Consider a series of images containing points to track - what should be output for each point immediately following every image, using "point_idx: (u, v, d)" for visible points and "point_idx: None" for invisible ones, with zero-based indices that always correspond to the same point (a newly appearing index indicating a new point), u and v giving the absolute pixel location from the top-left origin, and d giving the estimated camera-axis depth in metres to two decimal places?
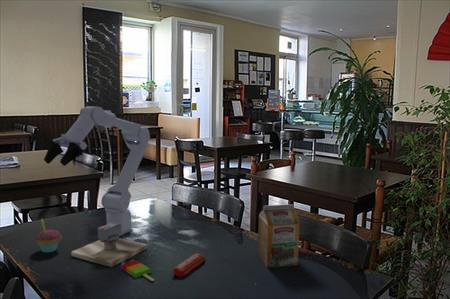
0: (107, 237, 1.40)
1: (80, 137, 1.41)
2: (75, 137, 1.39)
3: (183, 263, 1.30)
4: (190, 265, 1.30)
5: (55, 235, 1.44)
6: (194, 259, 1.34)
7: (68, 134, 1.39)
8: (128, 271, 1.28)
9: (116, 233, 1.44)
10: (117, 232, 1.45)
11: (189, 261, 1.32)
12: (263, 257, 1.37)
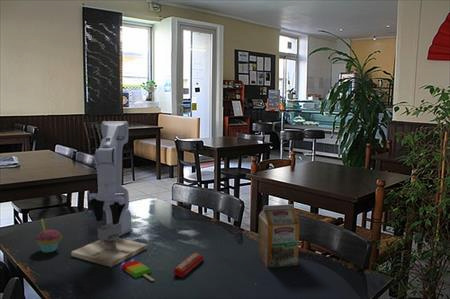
0: (107, 237, 1.40)
1: (112, 189, 1.40)
2: (109, 194, 1.39)
3: (183, 263, 1.30)
4: (190, 265, 1.30)
5: (55, 235, 1.44)
6: (194, 259, 1.34)
7: (101, 194, 1.39)
8: (128, 271, 1.28)
9: (116, 233, 1.44)
10: (117, 232, 1.45)
11: (189, 260, 1.32)
12: (263, 257, 1.37)
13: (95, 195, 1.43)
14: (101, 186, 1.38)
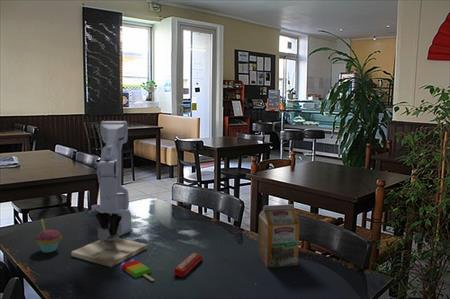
0: (107, 237, 1.40)
1: (115, 202, 1.41)
2: (111, 206, 1.40)
3: (183, 263, 1.30)
4: (190, 265, 1.30)
5: (55, 235, 1.44)
6: (193, 258, 1.34)
7: (103, 207, 1.39)
8: (128, 271, 1.28)
9: None
10: (117, 232, 1.45)
11: (188, 260, 1.32)
12: (263, 257, 1.37)
13: (97, 207, 1.44)
14: (103, 199, 1.39)
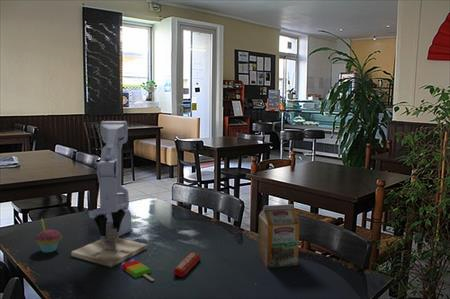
0: None
1: None
2: None
3: (182, 263, 1.30)
4: (189, 265, 1.30)
5: (55, 235, 1.44)
6: (192, 258, 1.34)
7: (115, 206, 1.41)
8: (128, 271, 1.28)
9: None
10: None
11: (187, 260, 1.32)
12: (263, 257, 1.37)
13: (99, 211, 1.38)
14: (114, 198, 1.40)
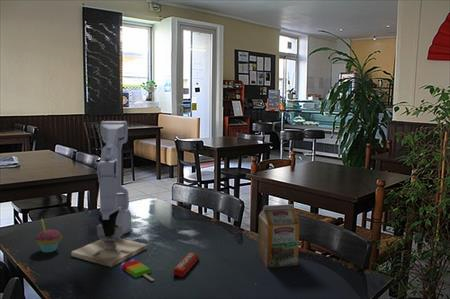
0: None
1: None
2: None
3: (181, 263, 1.30)
4: (189, 265, 1.30)
5: (55, 235, 1.44)
6: (191, 258, 1.34)
7: (117, 204, 1.43)
8: (128, 271, 1.28)
9: None
10: None
11: (186, 260, 1.32)
12: (263, 257, 1.37)
13: (109, 212, 1.38)
14: (117, 196, 1.42)
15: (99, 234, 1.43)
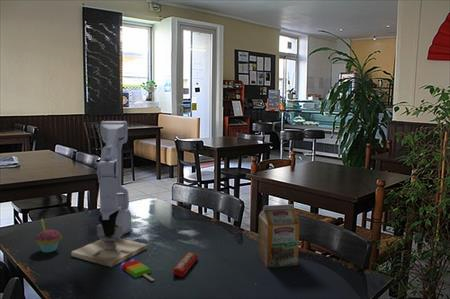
0: None
1: None
2: None
3: (181, 263, 1.30)
4: (188, 265, 1.30)
5: (55, 235, 1.44)
6: (190, 258, 1.34)
7: (117, 204, 1.43)
8: (128, 271, 1.28)
9: None
10: None
11: (186, 260, 1.32)
12: (263, 257, 1.37)
13: (109, 212, 1.38)
14: (117, 196, 1.42)
15: (99, 234, 1.43)
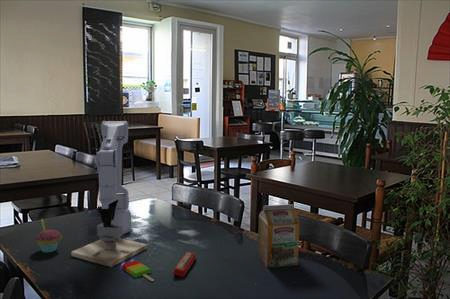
0: None
1: None
2: None
3: (181, 263, 1.30)
4: (188, 264, 1.30)
5: (55, 235, 1.44)
6: (189, 258, 1.34)
7: (116, 194, 1.43)
8: (128, 271, 1.28)
9: None
10: None
11: (185, 260, 1.32)
12: (263, 257, 1.37)
13: (108, 201, 1.38)
14: (116, 186, 1.42)
15: (99, 234, 1.43)
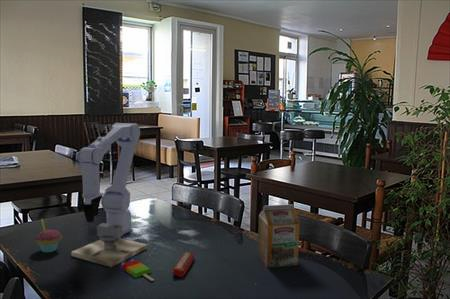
0: None
1: None
2: None
3: (180, 263, 1.30)
4: (187, 264, 1.30)
5: (55, 235, 1.44)
6: (188, 258, 1.34)
7: (99, 190, 1.47)
8: (128, 271, 1.28)
9: None
10: None
11: (184, 260, 1.32)
12: (263, 257, 1.37)
13: (91, 197, 1.42)
14: (99, 182, 1.47)
15: (99, 234, 1.43)
